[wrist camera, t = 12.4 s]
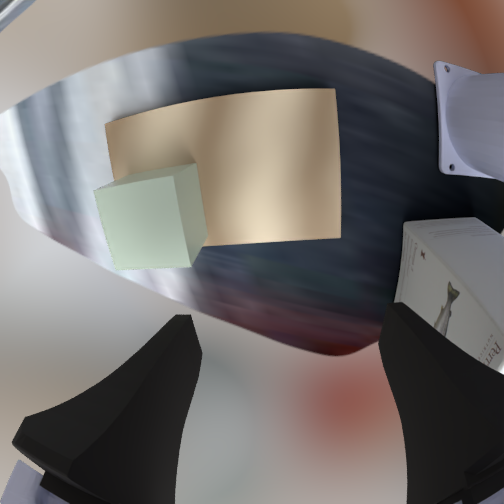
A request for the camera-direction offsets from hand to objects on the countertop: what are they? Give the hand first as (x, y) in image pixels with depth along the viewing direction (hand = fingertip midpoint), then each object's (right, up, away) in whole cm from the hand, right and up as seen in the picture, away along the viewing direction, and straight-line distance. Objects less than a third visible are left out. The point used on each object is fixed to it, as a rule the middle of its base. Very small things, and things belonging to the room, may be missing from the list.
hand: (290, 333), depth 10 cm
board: (-3, +8, +7) cm, 11 cm away
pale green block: (-7, +6, +7) cm, 11 cm away
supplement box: (+13, +2, +9) cm, 16 cm away
